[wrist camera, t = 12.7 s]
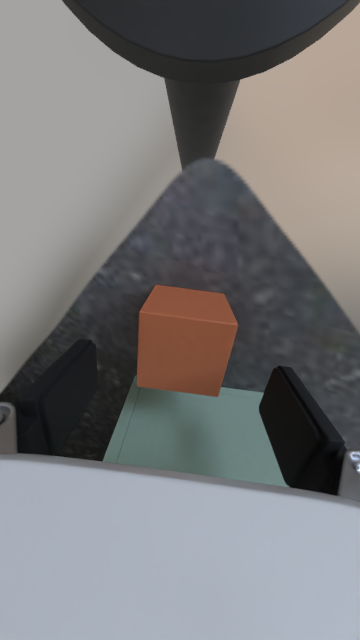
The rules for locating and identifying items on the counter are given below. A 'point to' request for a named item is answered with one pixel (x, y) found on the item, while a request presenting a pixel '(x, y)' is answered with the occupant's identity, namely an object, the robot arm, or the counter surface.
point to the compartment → (195, 434)
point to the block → (184, 340)
